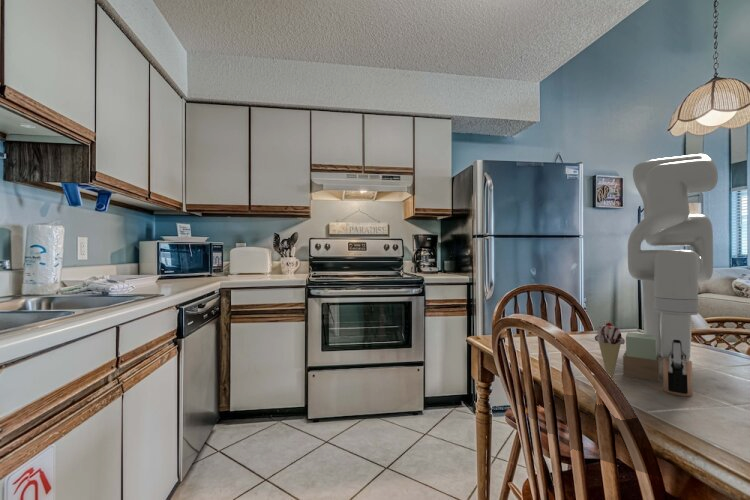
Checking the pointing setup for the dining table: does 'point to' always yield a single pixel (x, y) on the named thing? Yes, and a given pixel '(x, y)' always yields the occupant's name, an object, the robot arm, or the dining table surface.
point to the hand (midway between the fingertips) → (677, 387)
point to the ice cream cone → (609, 346)
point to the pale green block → (641, 346)
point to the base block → (641, 367)
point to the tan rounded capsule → (688, 373)
